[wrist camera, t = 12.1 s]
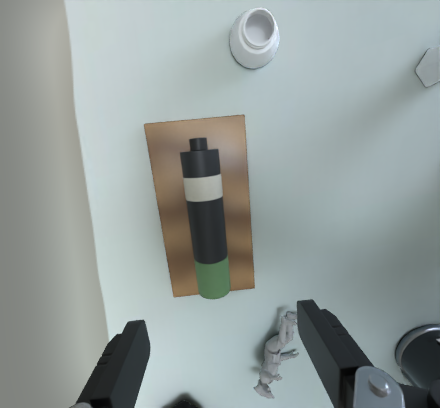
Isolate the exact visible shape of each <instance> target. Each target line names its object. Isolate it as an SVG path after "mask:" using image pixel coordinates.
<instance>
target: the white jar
mask: <svg viewBox="0 0 440 408" xmlns="http://www.w3.org/2000/svg"><path fill="white" fill-rule="evenodd" d="M279 39H280V38H279V31H278V26H277V23H276V21H275V18H274V16H273V15H272V13H271V12H270V11H269V10H267V9H265V8H261V7H259V8H254V9H252V10H248V11H245V12H244V13H243V14H241V15H240V16H239V17H238V18H237V19H236V21H235V22H234V24H233V26H232V28H231V34H230V41H229V42H230V47H231V52H232V54H233V56H234V57H235V59H236V60H237V62H239V63H240V64H241V65H243V66H244V67H247V68H252V69H256V68H259V67H263V66H265V65H266V64H267V63H268V62H270V61H271V60H272V58H273V57H274V55H275V53H276V51H277V50H278V45H279Z"/></svg>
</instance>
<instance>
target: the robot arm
mask: <svg viewBox="0 0 440 408" xmlns="http://www.w3.org/2000/svg"><path fill="white" fill-rule="evenodd" d="M297 326H298V331H299V335H300V338H301V340H302V342H303V344H304V346H305V348H306V350H307V352H308V354H309V357H310V359H311V361H312V363H313V365H314V367H315V369H316V371H317V373H318V375H319V377H320V379H321V381H322V383H323V385H324V387H325V389H326V391H327V394H328V396H329V398H330V400H331V402H332V404H333V406H334V408H440V326H439V325H427V326H423V327H420V328H417V329H415V330H413V331H412V332H410V333H409V334H407V335H406V336H405V337H404V338H403V339H402V341H401V342H400V343H399V345H398V347H397V350H396V361H397V363H398V365H399V366H400V367H401V368H402V373H403V375H404V376H405V377H406V378H407V379H408V380H409V381H410V383H411V384H412V385H413V386H409V385H404V384H401V383H398V382H396V381H395V380H394V379H393V378H392V377H391V376H390V375H389V374H387V373H386V372H384V371H383V370H381V369H378V368H376V367H374V366H373V364H372V363H371V362H370V360H369V359H368V358H367V356H366V355H365V354H364V353H363V351H362V350H361V349H360V347H359V346H358V345H357V343H356V342H355V341H354V340H353V338H352V337H351V336H350V335H349V334H348V332H347V330H346V329H345V328H344V327H343V326H342V324H341V323H340V321H339V320H338V319H337V317H336V316H335V315H333V314H332V313H331V312H329V311H328V310H326V309H321V310H320V309H319V307H318V306H317V305H316V303H315V302H314V300H312V299H310V300H302V301H298V302H297ZM149 356H150V341H149V337H148V332H147V328H146V324H145V321H144V320H136V321H129V322H127V324H126V326H125V328H124V330H123V332H122V334H117V335H116V336H115V337H114V338H113V339H112V340H111V341H110V342H109V343H108V344H107V346H106V348H105V350H104V352H103V354H102V357H100V359H99V361H98V363H97V366H96V367H95V369H94V370H93V372H92V374H91V376H90V378H89V380H88V382H87V384H86V385H85V387H84V389H83V391H82V393H81V395H80V396H79V398H78V400H77V402H76V404H75V405H73V406H71V407H70V408H134V406H135V403H136V400H137V396H138V393H139V390H140V386H141V383H142V380H143V376H144V373H145V370H146V366H147V363H148V360H149Z"/></svg>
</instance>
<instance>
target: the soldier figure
mask: <svg viewBox="0 0 440 408" xmlns="http://www.w3.org/2000/svg"><path fill="white" fill-rule="evenodd" d="M295 319H297V314H292V313H291V312H287V318H286V317H285V316H281V325H280V329H279V335H276V336H273V337H272V338H271V339H270V340H269V341H267V343H266V345H265V359H264V361H265V362H264V361H263V363H262V365H261V366H262V368H261V371H260V379H259V380H258V385H257V386H256V387H254V389H255V390H256V392H257V393H258V394H259V395H261V396H264V397H266V398H274V396H273V394H272V393H271V390H270V388H269V386H268V385H267V384H269V383H271V382H272V381H273V380H277V381H278V380H281V379H282V377H281V376H279V374H277V371H278V366H279V365H280V363H281V361H283V360H287V359H289V358H295V357H296V356H297V355H298V354H299V353H297V354H293V352H294V350H293V351H292V353H291V354H290V355H289V354H280V353H281V350H280V349H281V348H283V347H284V346H285V345H286V344H287V343H288V342H290V341H291V340H292V339H293V334H294V332H293V325H296V324H297V323H296V322H295V321H294V320H295ZM276 374H277V375H276ZM278 376H279V377H278Z"/></svg>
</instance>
